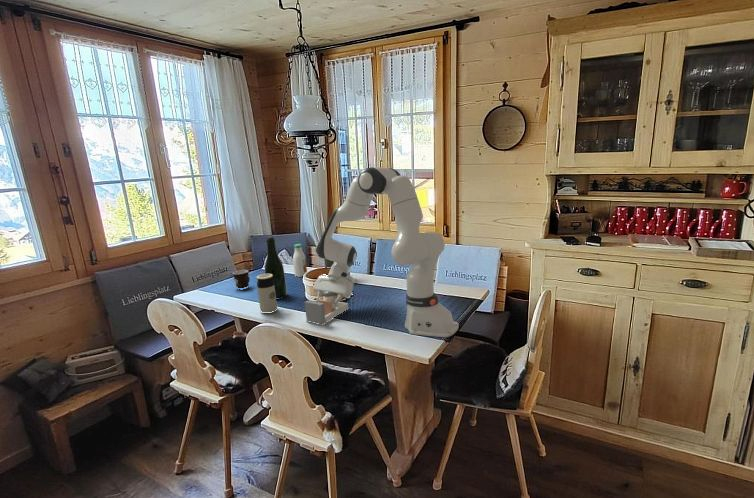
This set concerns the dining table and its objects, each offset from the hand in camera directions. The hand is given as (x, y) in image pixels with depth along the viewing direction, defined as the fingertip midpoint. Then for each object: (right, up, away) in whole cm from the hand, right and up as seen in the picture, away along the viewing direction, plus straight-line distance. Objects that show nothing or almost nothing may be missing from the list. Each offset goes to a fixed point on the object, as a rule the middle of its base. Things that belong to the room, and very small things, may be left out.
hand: (326, 302), depth 186 cm
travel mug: (-30, -6, +12) cm, 32 cm away
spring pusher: (0, -6, 0) cm, 6 cm away
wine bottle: (-30, -1, +32) cm, 44 cm away
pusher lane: (+1, -6, +2) cm, 7 cm away
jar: (+1, -5, +3) cm, 6 cm away
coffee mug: (-54, +1, +48) cm, 72 cm away
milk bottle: (-24, +8, +68) cm, 72 cm away
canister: (-1, +5, +52) cm, 52 cm away
